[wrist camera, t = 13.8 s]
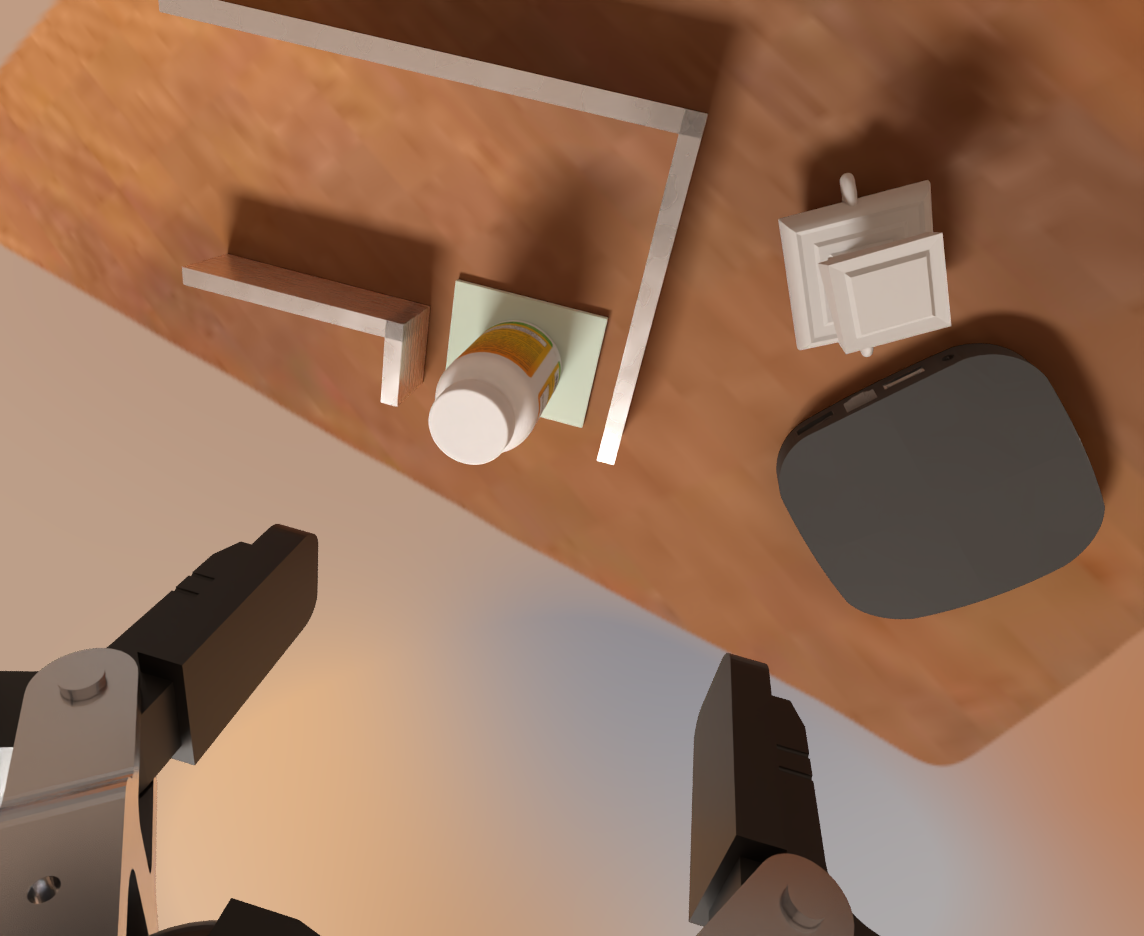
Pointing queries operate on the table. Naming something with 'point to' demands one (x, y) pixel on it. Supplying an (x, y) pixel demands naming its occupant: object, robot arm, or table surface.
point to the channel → (410, 319)
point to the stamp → (866, 269)
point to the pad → (565, 326)
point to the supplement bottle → (494, 392)
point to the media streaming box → (941, 484)
